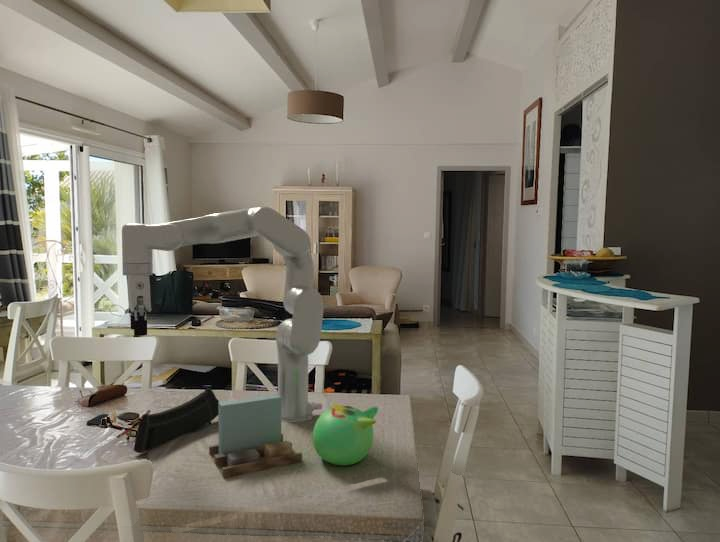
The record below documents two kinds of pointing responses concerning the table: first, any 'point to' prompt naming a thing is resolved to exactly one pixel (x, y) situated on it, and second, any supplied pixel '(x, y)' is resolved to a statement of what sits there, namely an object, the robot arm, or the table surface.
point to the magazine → (176, 421)
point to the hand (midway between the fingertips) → (138, 332)
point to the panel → (249, 423)
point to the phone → (97, 420)
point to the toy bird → (344, 434)
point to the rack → (254, 466)
